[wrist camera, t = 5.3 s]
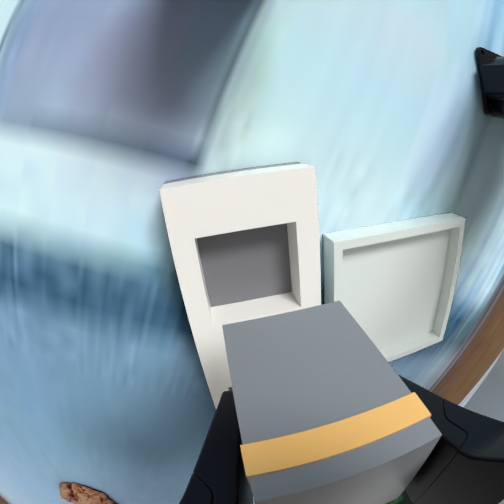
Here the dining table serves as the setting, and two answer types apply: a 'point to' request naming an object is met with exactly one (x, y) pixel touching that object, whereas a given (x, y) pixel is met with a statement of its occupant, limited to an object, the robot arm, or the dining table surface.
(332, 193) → the dining table surface
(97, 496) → the cookie
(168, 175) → the dining table surface
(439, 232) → the tray
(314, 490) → the plug
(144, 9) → the dining table surface
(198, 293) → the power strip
